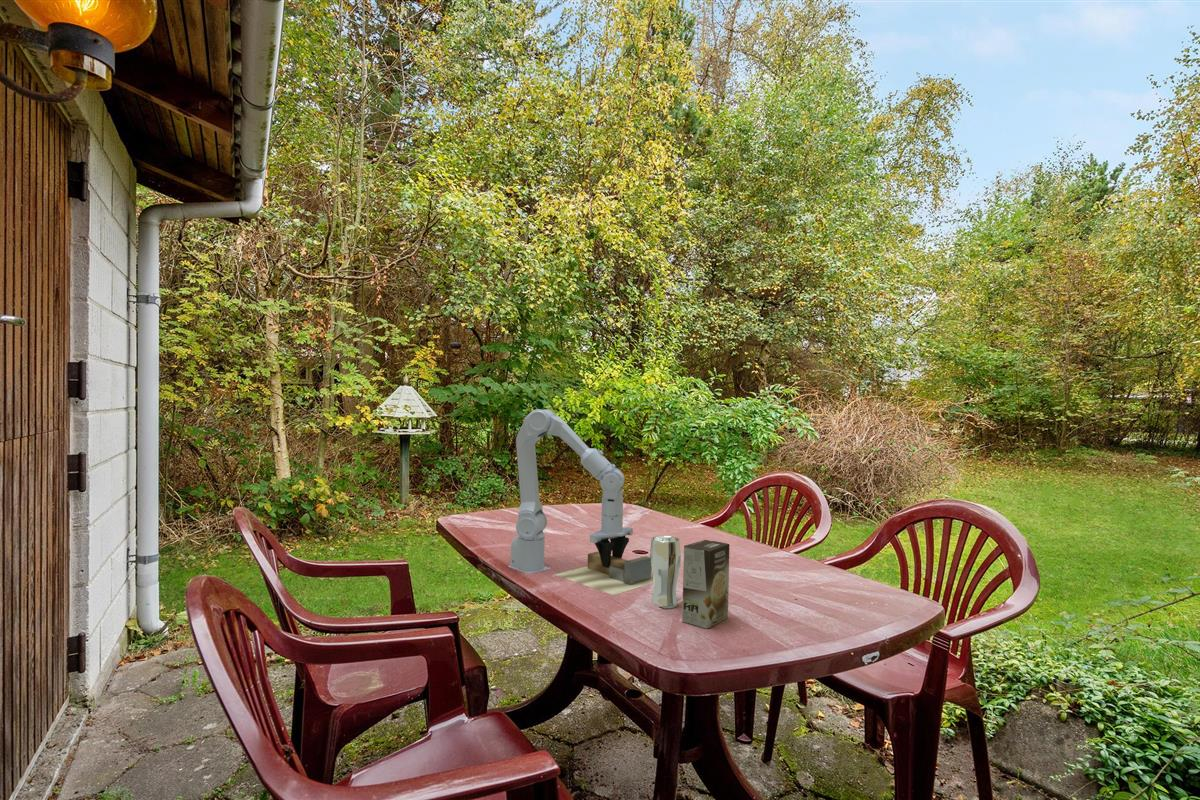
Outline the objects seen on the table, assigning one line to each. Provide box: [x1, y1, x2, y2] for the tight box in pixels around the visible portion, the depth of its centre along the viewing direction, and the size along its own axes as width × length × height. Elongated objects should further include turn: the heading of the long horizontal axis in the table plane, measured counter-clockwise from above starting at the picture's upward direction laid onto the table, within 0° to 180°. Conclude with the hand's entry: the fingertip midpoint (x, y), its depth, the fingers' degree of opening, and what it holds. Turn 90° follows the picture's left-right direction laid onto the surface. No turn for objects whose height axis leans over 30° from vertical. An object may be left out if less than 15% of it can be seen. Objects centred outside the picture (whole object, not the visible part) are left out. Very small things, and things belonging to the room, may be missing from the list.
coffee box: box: [681, 539, 731, 629], centre depth 124 cm, size 9×6×16 cm
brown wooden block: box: [587, 551, 630, 575], centre depth 156 cm, size 14×4×4 cm, turn 45°
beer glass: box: [649, 535, 682, 610], centre depth 134 cm, size 7×7×15 cm
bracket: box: [609, 555, 652, 585], centre depth 151 cm, size 8×8×6 cm
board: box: [553, 565, 653, 596], centre depth 152 cm, size 22×18×1 cm
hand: (611, 565), depth 156 cm, fingers closed on brown wooden block, 3 cm apart
